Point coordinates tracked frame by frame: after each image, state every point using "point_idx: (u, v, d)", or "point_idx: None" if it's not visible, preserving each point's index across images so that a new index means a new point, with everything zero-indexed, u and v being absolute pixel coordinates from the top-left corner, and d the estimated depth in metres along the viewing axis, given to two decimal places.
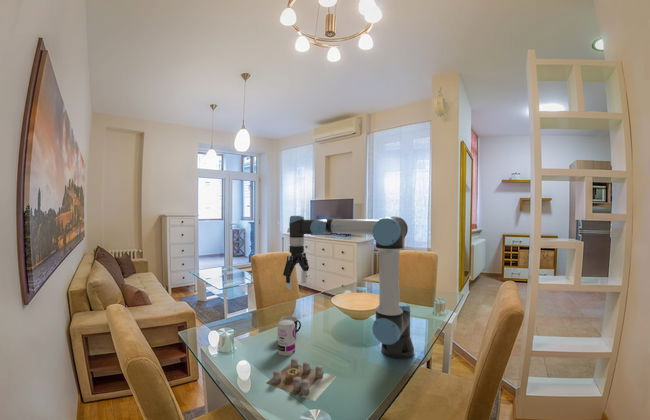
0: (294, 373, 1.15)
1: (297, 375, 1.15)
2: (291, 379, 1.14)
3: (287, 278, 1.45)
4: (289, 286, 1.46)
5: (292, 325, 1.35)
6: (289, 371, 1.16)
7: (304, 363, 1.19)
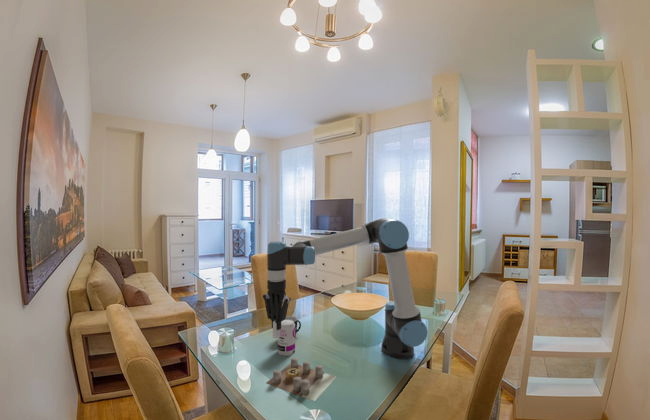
0: (294, 373, 1.15)
1: (297, 375, 1.15)
2: (291, 379, 1.14)
3: None
4: None
5: (292, 325, 1.35)
6: (289, 371, 1.16)
7: (304, 363, 1.19)
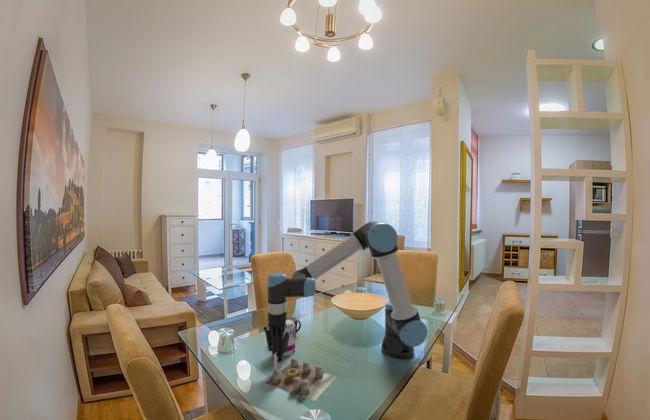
0: (294, 373, 1.15)
1: (297, 375, 1.15)
2: (291, 379, 1.14)
3: None
4: None
5: (292, 325, 1.35)
6: (289, 371, 1.16)
7: (304, 363, 1.19)
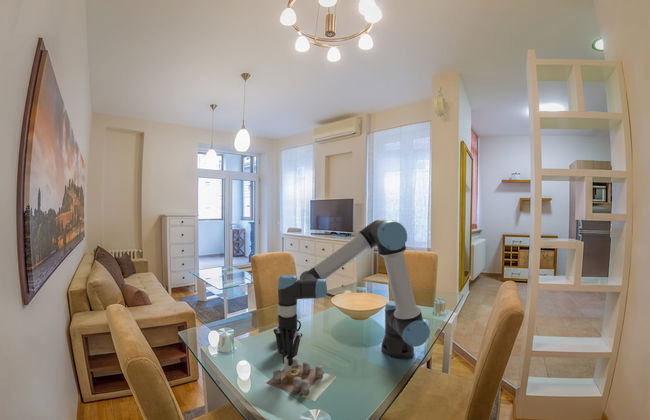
0: (295, 373, 1.14)
1: (298, 375, 1.15)
2: (292, 379, 1.14)
3: None
4: None
5: None
6: (289, 372, 1.16)
7: (304, 363, 1.19)
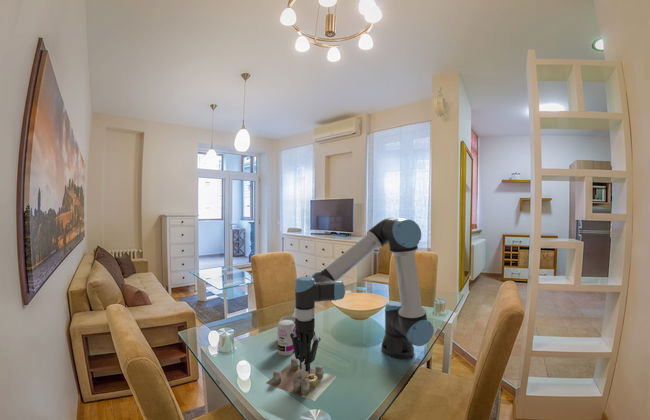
0: (313, 380, 1.10)
1: (316, 382, 1.11)
2: (310, 386, 1.10)
3: None
4: None
5: (292, 325, 1.35)
6: (307, 378, 1.11)
7: None
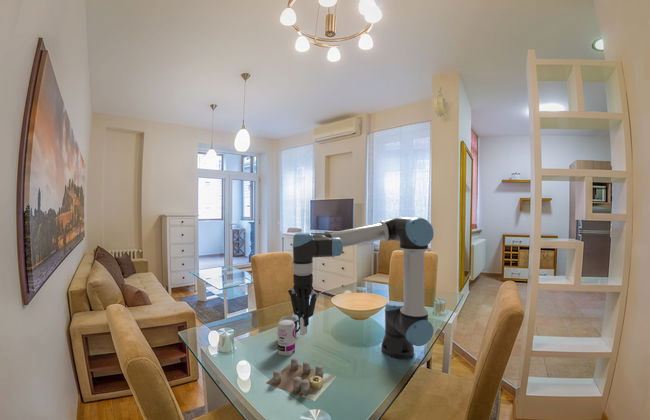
0: (317, 381, 1.09)
1: (321, 383, 1.10)
2: (314, 388, 1.09)
3: None
4: None
5: (292, 325, 1.35)
6: (312, 379, 1.10)
7: (304, 363, 1.19)
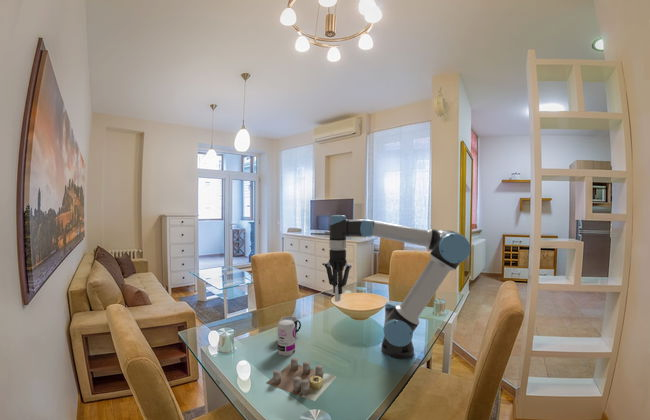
0: (317, 381, 1.09)
1: (321, 383, 1.10)
2: (314, 388, 1.09)
3: None
4: None
5: (292, 325, 1.35)
6: (312, 379, 1.10)
7: (304, 363, 1.19)
